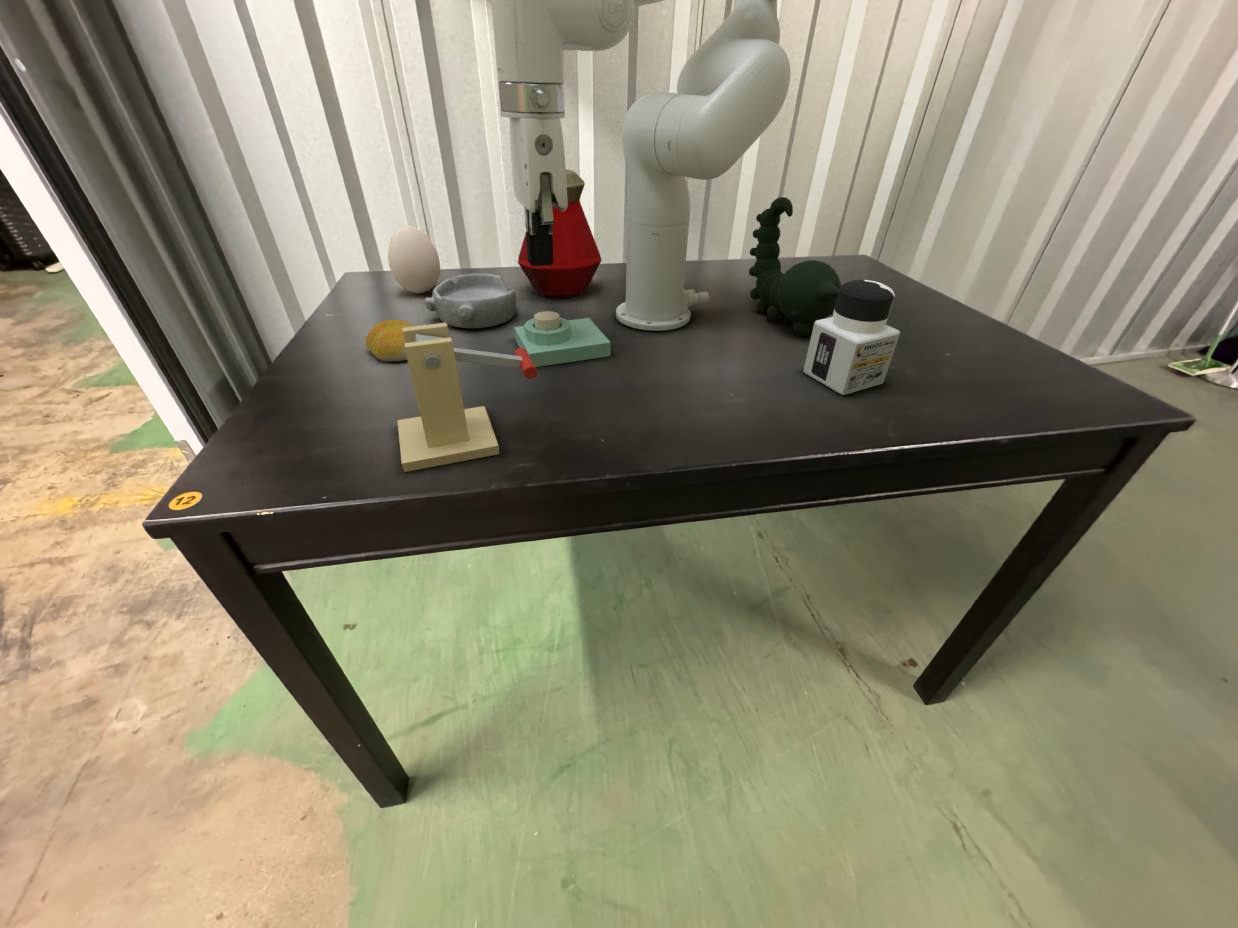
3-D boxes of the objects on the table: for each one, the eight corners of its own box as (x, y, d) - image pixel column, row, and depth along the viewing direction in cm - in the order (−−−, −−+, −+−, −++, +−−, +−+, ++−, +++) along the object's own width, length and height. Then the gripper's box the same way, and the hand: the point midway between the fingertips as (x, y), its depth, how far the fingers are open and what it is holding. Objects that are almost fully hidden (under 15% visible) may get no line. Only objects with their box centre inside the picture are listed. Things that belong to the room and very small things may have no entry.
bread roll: (385, 369, 76) (378, 342, 74) (361, 347, 82) (354, 322, 79) (440, 353, 81) (435, 327, 78) (414, 333, 86) (409, 309, 84)
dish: (489, 295, 101) (486, 267, 98) (536, 316, 93) (534, 287, 90) (417, 315, 92) (410, 285, 89) (461, 340, 84) (456, 308, 82)
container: (842, 396, 72) (871, 299, 64) (801, 372, 77) (823, 280, 70) (884, 384, 75) (916, 290, 67) (841, 362, 80) (866, 272, 73)
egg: (454, 292, 102) (443, 226, 95) (412, 304, 97) (398, 235, 90) (427, 281, 106) (415, 218, 100) (386, 292, 101) (370, 226, 94)
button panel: (589, 330, 88) (589, 306, 86) (610, 356, 81) (610, 330, 78) (515, 340, 85) (512, 315, 82) (530, 368, 77) (528, 341, 75)
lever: (524, 364, 63) (528, 344, 62) (535, 383, 59) (539, 363, 58) (412, 350, 57) (414, 328, 56) (415, 370, 54) (418, 347, 53)
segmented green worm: (730, 307, 102) (800, 352, 82) (741, 195, 92) (824, 212, 72) (776, 304, 104) (856, 346, 83) (792, 193, 94) (887, 210, 74)
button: (556, 321, 82) (555, 309, 81) (562, 330, 79) (562, 318, 78) (532, 324, 81) (531, 312, 80) (538, 333, 78) (537, 321, 77)
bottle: (587, 275, 111) (585, 163, 99) (613, 296, 101) (615, 175, 89) (511, 284, 106) (499, 167, 94) (531, 307, 96) (521, 180, 84)
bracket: (485, 414, 67) (470, 312, 59) (499, 454, 60) (484, 345, 53) (399, 428, 64) (372, 323, 56) (404, 472, 57) (373, 360, 50)
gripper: (582, 106, 59) (583, 278, 70) (547, 99, 71) (553, 248, 81) (513, 105, 57) (525, 283, 68) (488, 98, 68) (502, 251, 79)
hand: (540, 263), depth 74 cm, fingers closed
